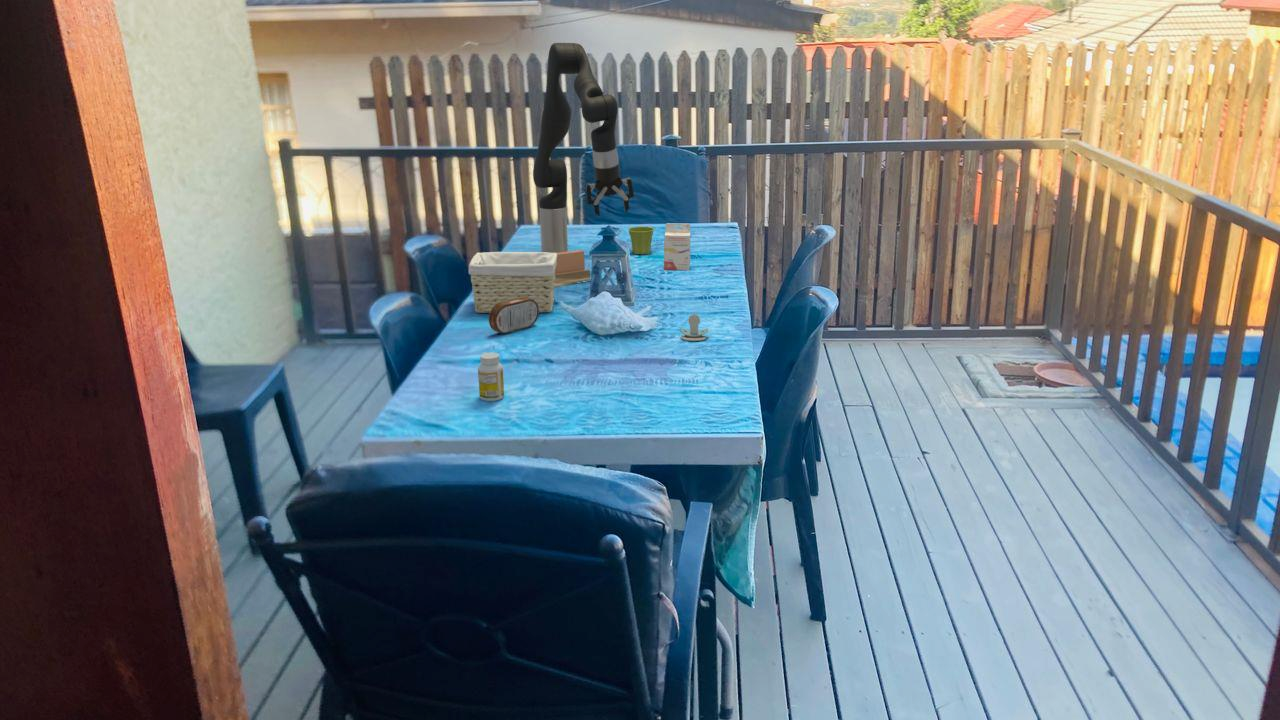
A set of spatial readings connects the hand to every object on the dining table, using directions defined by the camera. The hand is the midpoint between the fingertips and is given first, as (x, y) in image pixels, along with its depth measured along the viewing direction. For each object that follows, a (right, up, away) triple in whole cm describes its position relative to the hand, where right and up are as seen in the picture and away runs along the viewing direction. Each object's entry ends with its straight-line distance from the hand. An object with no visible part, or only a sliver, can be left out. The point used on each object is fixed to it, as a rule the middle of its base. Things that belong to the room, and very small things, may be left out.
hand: (612, 213), depth 296 cm
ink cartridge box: (+21, -15, +22) cm, 34 cm away
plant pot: (+9, -8, +44) cm, 46 cm away
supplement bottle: (-24, -53, -86) cm, 104 cm away
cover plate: (-16, -20, +8) cm, 27 cm away
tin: (-24, -37, -40) cm, 60 cm away
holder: (-16, -20, +8) cm, 27 cm away
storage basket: (-27, -30, -20) cm, 45 cm away
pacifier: (+22, -40, -49) cm, 67 cm away
